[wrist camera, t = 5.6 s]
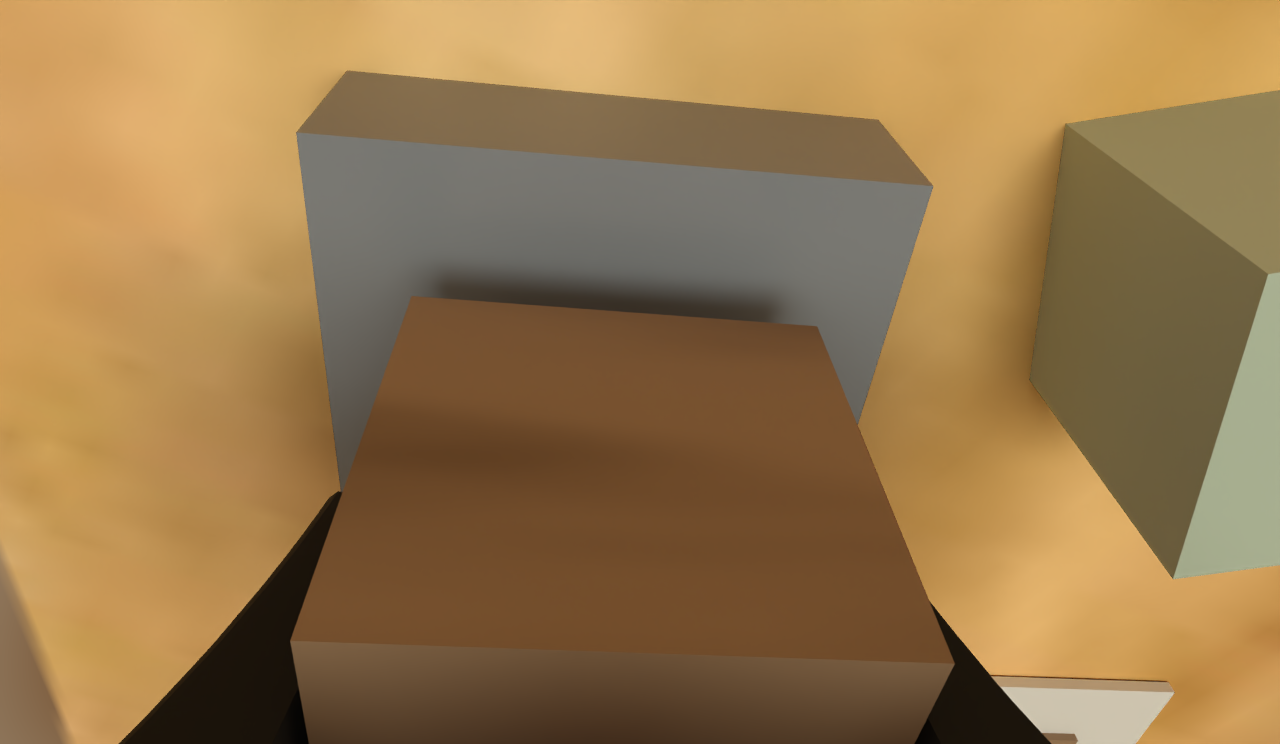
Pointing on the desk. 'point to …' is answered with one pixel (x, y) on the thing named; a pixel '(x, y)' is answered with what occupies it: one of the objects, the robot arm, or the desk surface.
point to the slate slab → (595, 217)
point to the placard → (1087, 707)
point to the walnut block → (613, 544)
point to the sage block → (1172, 324)
